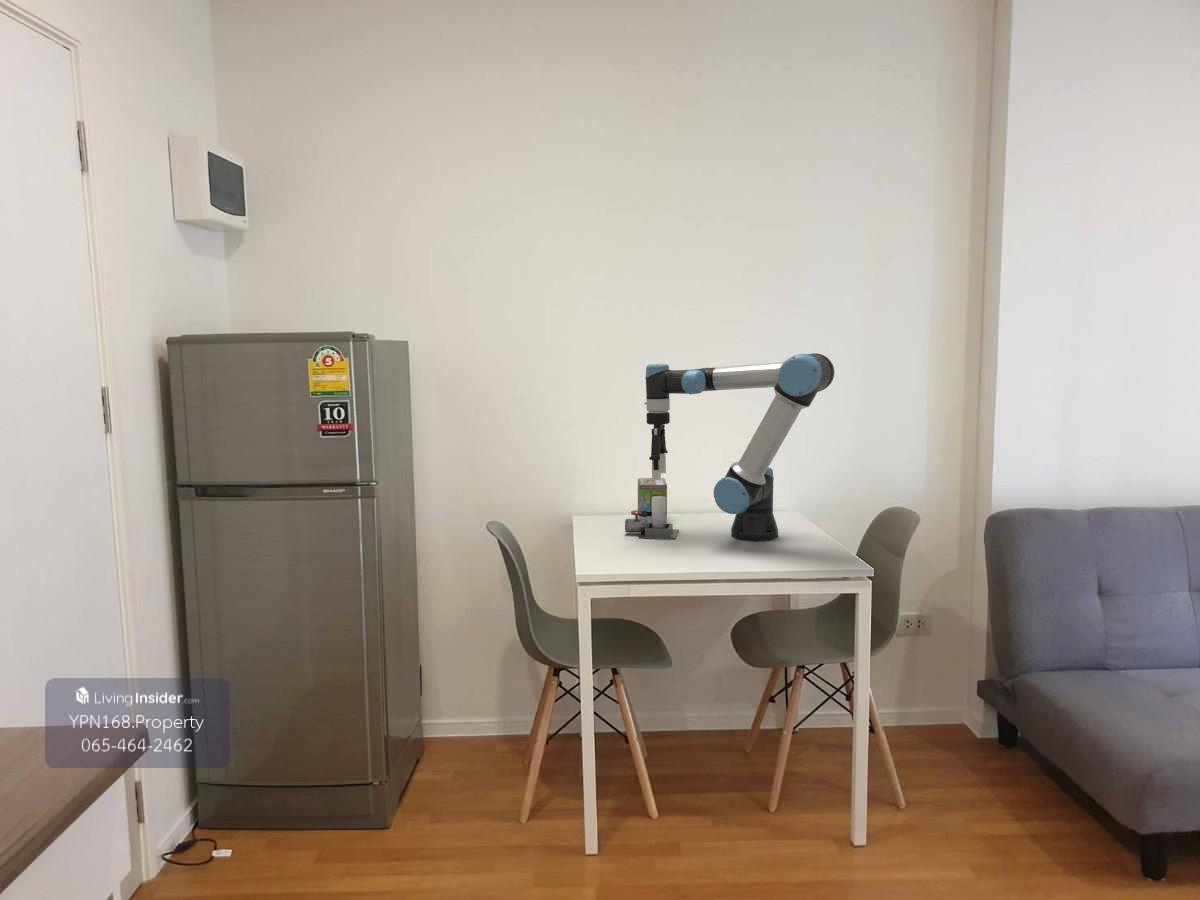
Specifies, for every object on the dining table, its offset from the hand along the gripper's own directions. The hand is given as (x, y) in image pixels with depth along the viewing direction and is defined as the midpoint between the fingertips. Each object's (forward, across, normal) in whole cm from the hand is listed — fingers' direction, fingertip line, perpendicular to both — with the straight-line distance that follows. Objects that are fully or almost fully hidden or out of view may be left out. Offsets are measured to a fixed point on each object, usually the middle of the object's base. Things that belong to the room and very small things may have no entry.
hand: (659, 476), depth 280 cm
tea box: (+20, -20, -5) cm, 29 cm away
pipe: (+19, 0, 0) cm, 19 cm away
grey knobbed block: (+20, 0, -3) cm, 20 cm away
